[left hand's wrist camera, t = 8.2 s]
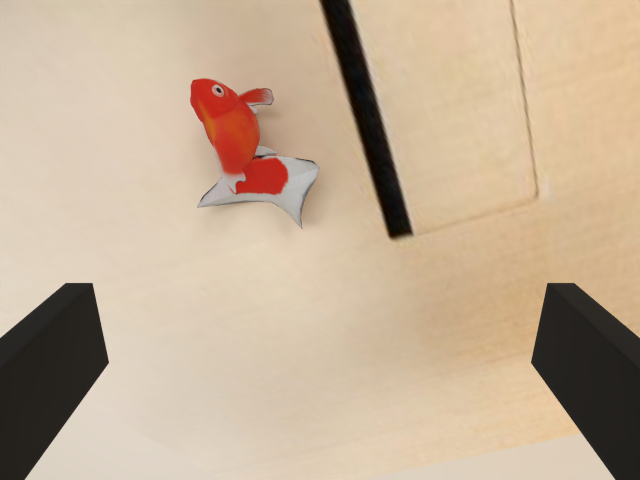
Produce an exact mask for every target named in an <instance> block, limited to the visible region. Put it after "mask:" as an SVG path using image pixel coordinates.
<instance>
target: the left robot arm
mask: <svg viewBox="0 0 640 480" xmlns="http://www.w3.org/2000/svg"><path fill="white" fill-rule="evenodd" d="M108 363H109V361H108V356H107V351H106V346H105V341H104V336H103V332H102V327H101V322H100V317H99V312H98V308H97V303H96V298H95V293H94V288H93V283H65V284H64V285H63V286H62V287H61V288H59V289H58V290H57V291H56V292H55V293H54V294H52V295H51V296H50V297H49V298H48V299H46V300H45V301H44V302H43V303H42V304H40V305H39V306H38V307H37V308H36V309H34V310H33V311H32V312H31V313H30V314H28V315H27V316H26V317H25V318H24V319H22V320H21V321H20V322H19V323H18V324H17V325H15V326H14V327H13V328H12V329H11V330H9V331H8V332H7V333H6V334H5V335H3V336H2V337H1V338H0V480H25V478H26V477H27V476H28V474H29V473H30V471H31V470H32V469H33V467H34V466H35V465H36V463H37V462H38V460H39V459H40V458H41V456H42V455H43V453H44V452H45V451H46V449H47V448H48V447H49V445H50V444H51V442H52V441H53V440H54V438H55V437H56V435H57V434H58V433H59V431H60V430H61V428H62V427H63V426H64V424H65V423H66V422H67V420H68V419H69V417H70V416H71V415H72V413H73V412H74V410H75V409H76V408H77V406H78V405H79V404H80V402H81V401H82V399H83V398H84V397H85V395H86V394H87V392H88V391H89V390H90V388H91V387H92V386H93V384H94V383H95V381H96V380H97V379H98V377H99V376H100V374H101V373H102V372H103V370H104V369H105V368H106V366H107V365H108ZM531 363H532V365H533V366H534V368H535V369H536V370H537V372H538V373H539V374H540V376H541V377H542V379H543V380H544V381H545V383H546V384H547V386H548V387H549V388H550V390H551V391H552V392H553V394H554V395H555V397H556V398H557V399H558V401H559V402H560V404H561V405H562V406H563V408H564V409H565V410H566V412H567V413H568V415H569V416H570V417H571V419H572V420H573V422H574V423H575V424H576V426H577V427H578V428H579V430H580V431H581V433H582V434H583V435H584V437H585V438H586V440H587V441H588V442H589V444H590V445H591V447H592V448H593V449H594V451H595V452H596V453H597V455H598V456H599V458H600V459H601V460H602V462H603V463H604V464H605V466H606V467H607V469H608V470H609V471H610V473H611V474H612V476H613V477H614V478H615V480H640V338H639V337H638V336H637V335H635V334H634V333H633V332H632V331H631V330H629V329H628V328H627V327H626V326H625V325H623V324H622V323H621V322H620V321H619V320H618V319H616V318H615V317H614V316H613V315H612V314H610V313H609V312H608V311H607V310H606V309H604V308H603V307H602V306H601V305H600V304H598V303H597V302H596V301H595V300H594V299H592V298H591V297H590V296H589V295H588V294H586V293H585V292H584V291H583V290H582V289H581V288H579V287H578V286H577V285H576V284H575V283H547V288H546V293H545V298H544V303H543V308H542V312H541V317H540V322H539V327H538V332H537V336H536V341H535V346H534V351H533V356H532V361H531Z"/></svg>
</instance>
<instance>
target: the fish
mask: <svg viewBox="0 0 640 480" xmlns="http://www.w3.org/2000/svg"><path fill="white" fill-rule="evenodd" d="M273 100H274V98H273V94H272V91H271V90H270V89H267V88H262V89H253V90H250V91H248V92H246V93H243V94H241V95H239V96H237V94H236V93H235V92H234V91H233V90H231V89H230V88H228V87H227V86H225V85H223V84H222V83H220V82H218V81H215V80H211V79H205V78H204V79H197V80H193V82H192V84H191V98H190V102H191V105H192V107H193V108H194V110H195V112H196V114H197V116H198V118H199V119H200V121H201V122H203V124H204V127H205V130H206V133H207V136H208V138H209V140H210V142H211V144H212V145H213V147H214V149H215V153H216V156H217V160H218V165H219V169H220V173H221V175H222V177H221V179H220V180H219V181H218V182H217V184H216V185H215V186H213V187H212V188H211V189H210V190H209V191H208V192H207V193H206V194H205V195H204V196H203V197H202V199H201V201H200V203H199V204H198V206H197V208H198V207H208V206H218V205H225V204H232V203H240V202H253V201H261V202H272V203H274V204H275V205H277V206H279V207H280V208H282V209H283V210H285V211H286V212H287V213H288V214H289V215H290V216H291V217H292V219H293V220H294V221H295V222H296V223H297V224H298V225H299V226H300V227H301V228H302V223H301V217H300V216H301V211H302V206H303V203H304V200H305V198H306V195H307V193H308V191H309V189H310V188H311V186H312V184H313V183H314V181H315V179H316V176H317V173H318V170H319V166H318V165H317V164H315V163H314V162H313V161H310V160H304V159H297V158H291V157H282V156H265V155H269V154H277V152H276V151H274V150H272V149H270V148H267V147H265V146H261V145H258V143H259V135H260V134H259V126H258V121H257V118H256V116H255V114H257V113H258V111H257V109H256V108H254V107H252V106H254V105H259V104H264V105H271V104H272V102H273ZM254 155H255V156H256V157H254Z"/></svg>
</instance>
